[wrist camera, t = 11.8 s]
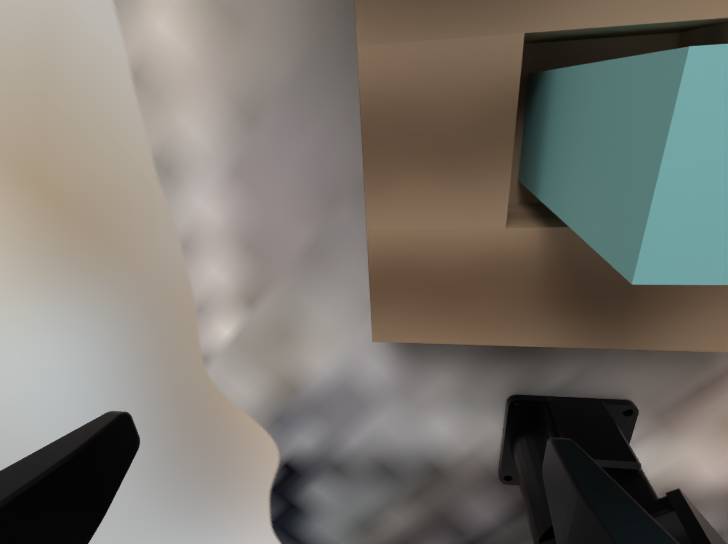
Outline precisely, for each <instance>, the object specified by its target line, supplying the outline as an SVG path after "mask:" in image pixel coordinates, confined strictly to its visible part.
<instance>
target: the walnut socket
mask: <svg viewBox="0 0 728 544" xmlns="http://www.w3.org/2000/svg"><path fill="white" fill-rule="evenodd" d="M355 18H356V37H357V56H358V75H359V94H360V113H361V132H362V151H363V170H364V189H365V208H366V227H367V245H368V264H369V283H370V302H371V321H372V340H373V342H395V343H428V344H461V345H494V346H527V347H560V348H593V349H626V350H659V351H692V352H725V353H728V285H632V284H631V283H630V282H629V281H628V280H627V279H625V278H624V277H623V276H622V275H621V274H620V273H619V272H618V271H617V270H616V269H614V268H613V267H612V266H611V265H610V264H609V263H608V262H607V261H606V260H605V259H604V258H602V257H601V256H600V255H599V254H598V253H597V252H596V251H595V250H594V249H593V248H592V247H590V246H589V245H588V244H587V243H586V242H585V241H584V240H583V239H582V238H581V237H580V236H578V235H577V234H576V233H575V232H574V231H573V230H572V229H571V228H570V227H569V226H568V225H566V224H565V223H564V222H563V221H562V220H561V219H560V218H559V217H558V216H557V215H556V214H554V213H553V212H552V211H551V210H550V209H549V208H548V207H547V206H546V205H545V204H544V203H542V202H541V201H540V200H539V199H538V198H537V197H536V196H535V195H534V194H533V193H531V192H530V191H529V190H528V189H527V188H526V187H525V186H524V185H523V184H522V183H521V182H519V181H518V173H519V163H520V153H521V143H522V133H523V123H524V113H525V103H526V93H527V83H528V74H530V73H536V72H541V71H547V70H553V69H559V68H565V67H571V66H577V65H583V64H589V63H595V62H601V61H606V60H612V59H618V58H624V57H630V56H636V55H642V54H648V53H654V52H660V51H666V50H672V49H677V48H683V47H689V46H703V45H717V44H728V0H355Z"/></svg>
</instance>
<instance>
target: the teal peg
mask: <svg viewBox="0 0 728 544" xmlns="http://www.w3.org/2000/svg"><path fill="white" fill-rule="evenodd" d="M518 181H519V182H521V183H522V184H523V185H524V186H525V187H526V188H527V189H528V190H529V191H530V192H531V193H533V194H534V195H535V196H536V197H537V198H538V199H539V200H540V201H541V202H542V203H544V204H545V205H546V206H547V207H548V208H549V209H550V210H551V211H552V212H553V213H554V214H556V215H557V216H558V217H559V218H560V219H561V220H562V221H563V222H564V223H565V224H566V225H568V226H569V227H570V228H571V229H572V230H573V231H574V232H575V233H576V234H577V235H578V236H580V237H581V238H582V239H583V240H584V241H585V242H586V243H587V244H588V245H589V246H590V247H592V248H593V249H594V250H595V251H596V252H597V253H598V254H599V255H600V256H601V257H602V258H604V259H605V260H606V261H607V262H608V263H609V264H610V265H611V266H612V267H613V268H614V269H616V270H617V271H618V272H619V273H620V274H621V275H622V276H623V277H624V278H625V279H627V280H628V281H629V282H630V283H631V284H632V285H728V44H717V45H703V46H689V47H683V48H677V49H672V50H666V51H660V52H654V53H648V54H642V55H636V56H630V57H624V58H618V59H612V60H606V61H601V62H595V63H589V64H583V65H577V66H571V67H565V68H559V69H553V70H547V71H541V72H536V73H530V74H528V83H527V93H526V103H525V113H524V123H523V133H522V143H521V153H520V163H519V173H518Z"/></svg>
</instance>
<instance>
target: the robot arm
mask: <svg viewBox="0 0 728 544" xmlns="http://www.w3.org/2000/svg"><path fill="white" fill-rule="evenodd" d="M515 404H519V405H517V406H515ZM626 409H628V410H627V411H624V410H626ZM638 412H639V410H638V409H637V407H636V406H635V404H634V403H633V402H632V401H629V400H617V399H596V398H574V397H553V396H532V395H513V396H510V397H509V398H508V400H507V404H506V412H505V420H504V429H503V437H502V445H501V454H500V462H499V471H498V473H499V478H500V481H501V482H502V483H504V484H511V485H519V486H520V490H521V494H522V498H523V502H524V506H525V510H526V514H527V518H528V522H529V526H530V530H531V534H532V538H533V542H534V544H726V542H725V541H724V540H723V539H722V538H721V537H720V535H719V534H718V533H717V532H716V531H715V529H714V528H713V527H712V526H711V525H710V524H709V522H708V521H707V520H706V519H705V518H704V517H703V515H702V514H701V513H700V512H699V511H698V510H697V508H696V507H695V506H694V505H693V504H692V503H691V501H690V500H689V499H688V498H687V497H686V495H685V494H684V493H683V492H682V491H681V490H680V489H679V488H678V489H676V490H673V491H670V492H668V493H666V495H667V496H665V497H662V498H658V496H657V494H656V493H655V491H654V489H653V487H652V486H651V484H650V482H649V481H648V479H647V477H646V475H645V474H644V472H643V470H642V469H641V464H640V462H639V460H638V458H637V457H636V455H635V453H634V452H633V450H632V448H631V447H630V445H629V443H630V440H631V437H632V433H633V430H634V427H635V423H636V420H637V417H638ZM139 445H140V437H139V435H138V432H137V429H136V427H135V424H134V421H133V419H132V416H131V415H130V414H129V413H128V412H121V411H110V412H107V413H105V414H104V415H102V416H100V417H98V418H96V419H94V420H93V421H91V422H89V423H87V424H85V425H83V426H82V427H80V428H78V429H76V430H74V431H72V432H71V433H69V434H67V435H65V436H63V437H61V438H60V439H58V440H56V441H54V442H52V443H50V444H49V445H47V446H45V447H43V448H42V449H40V450H38V451H36V452H34V453H32V454H31V455H29V456H27V457H25V458H23V459H21V460H19V461H18V462H16V463H14V464H12V465H10V466H8V467H7V468H5V469H3V470H1V471H0V544H88V543H89V542H90V540H91V538H92V537H93V535H94V533H95V532H96V530H97V528H98V527H99V525H100V523H101V521H102V520H103V518H104V516H105V514H106V512H107V510H108V508H109V506H110V504H111V503H112V501H113V498H114V497H115V495H116V492H117V491H118V489H119V487H120V485H121V482H122V480H123V479H124V477H125V475H126V473H127V471H128V469H129V467H130V465H131V463H132V461H133V459H134V457H135V455H136V453H137V451H138V448H139ZM507 475H508V476H507Z"/></svg>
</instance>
